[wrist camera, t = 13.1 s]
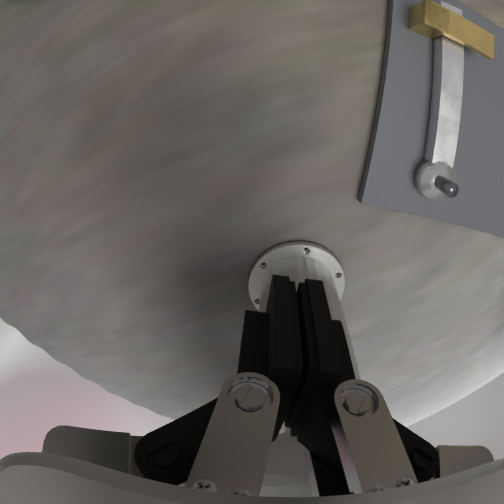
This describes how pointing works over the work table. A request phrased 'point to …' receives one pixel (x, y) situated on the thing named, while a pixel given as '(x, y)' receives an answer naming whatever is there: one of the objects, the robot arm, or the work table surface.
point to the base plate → (417, 123)
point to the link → (443, 120)
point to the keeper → (450, 27)
